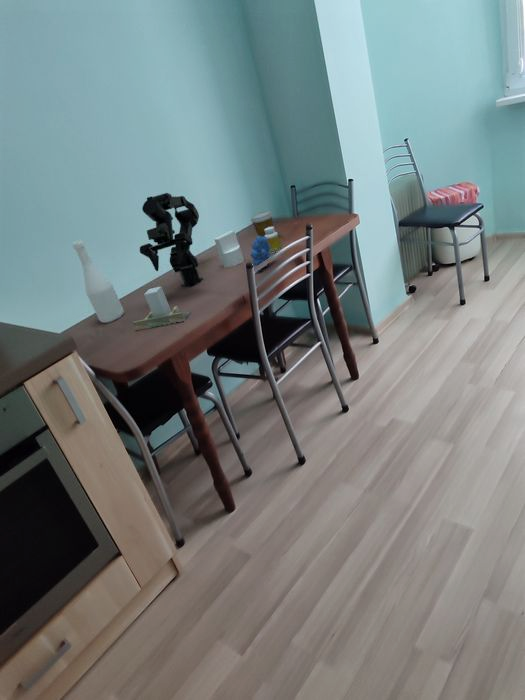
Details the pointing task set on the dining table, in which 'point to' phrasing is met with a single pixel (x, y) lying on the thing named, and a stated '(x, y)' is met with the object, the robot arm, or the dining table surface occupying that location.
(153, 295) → the grey block
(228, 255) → the cylinder with rectangular tab
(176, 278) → the dining table surface
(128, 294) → the dining table surface
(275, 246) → the supplement bottle
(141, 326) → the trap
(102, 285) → the wine bottle
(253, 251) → the grapes
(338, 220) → the dining table surface
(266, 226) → the disposable coffee cup
